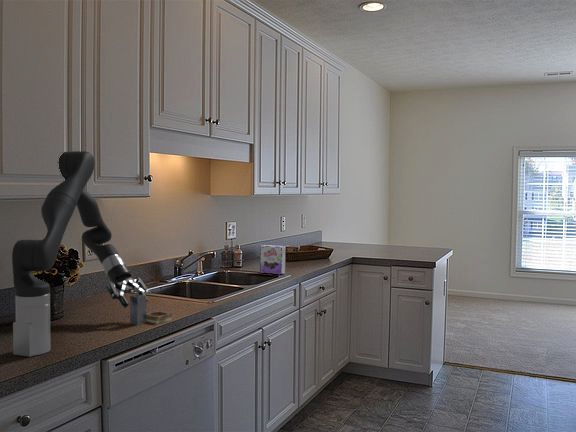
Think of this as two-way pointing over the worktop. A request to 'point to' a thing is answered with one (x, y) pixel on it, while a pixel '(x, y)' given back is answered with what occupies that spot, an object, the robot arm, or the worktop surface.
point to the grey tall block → (137, 309)
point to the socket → (158, 317)
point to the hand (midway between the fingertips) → (136, 304)
